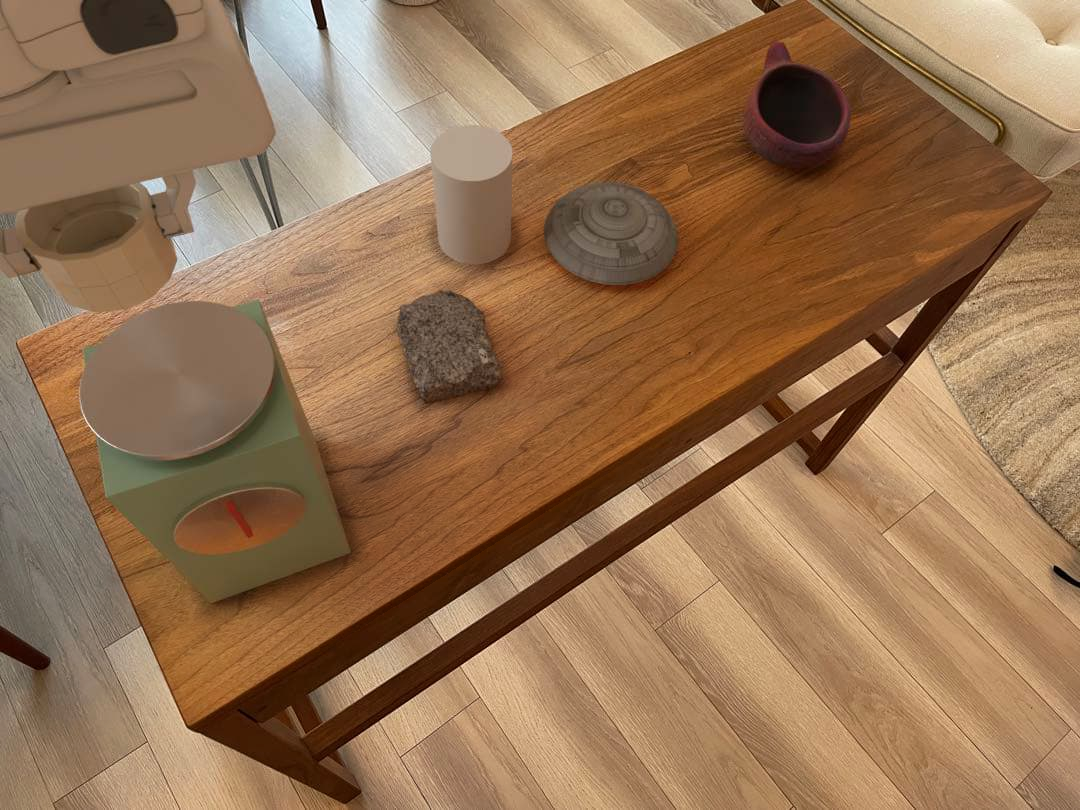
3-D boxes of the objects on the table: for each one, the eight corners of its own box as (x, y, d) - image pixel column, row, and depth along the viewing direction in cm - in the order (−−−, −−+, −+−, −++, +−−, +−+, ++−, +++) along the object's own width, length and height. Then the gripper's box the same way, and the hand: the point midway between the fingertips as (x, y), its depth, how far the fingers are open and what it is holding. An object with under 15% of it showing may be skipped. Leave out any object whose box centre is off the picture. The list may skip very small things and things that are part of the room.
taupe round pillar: (522, 225, 91) (526, 140, 80) (490, 274, 87) (489, 191, 76) (459, 201, 92) (454, 115, 82) (424, 248, 88) (415, 164, 78)
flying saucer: (673, 301, 86) (683, 267, 81) (535, 284, 86) (537, 249, 81) (677, 202, 94) (687, 166, 89) (551, 187, 94) (554, 150, 89)
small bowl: (65, 333, 41) (21, 275, 38) (52, 246, 44) (10, 185, 41) (189, 299, 43) (159, 241, 39) (168, 217, 46) (139, 156, 42)
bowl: (857, 157, 99) (884, 103, 92) (787, 200, 95) (809, 146, 88) (764, 88, 105) (783, 33, 99) (694, 125, 101) (708, 70, 94)
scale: (212, 612, 66) (92, 494, 47) (184, 483, 72) (68, 330, 52) (353, 560, 69) (296, 429, 49) (315, 440, 75) (251, 281, 55)
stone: (503, 389, 79) (503, 368, 76) (415, 409, 78) (411, 389, 74) (474, 298, 84) (473, 275, 81) (392, 315, 83) (388, 293, 80)
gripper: (-394, 103, 26) (-117, 349, 38) (238, -11, 31) (309, 238, 43) (-366, -4, 29) (-118, 255, 41) (207, -93, 34) (281, 161, 46)
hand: (104, 246), depth 42 cm, fingers closed on small bowl, 6 cm apart
